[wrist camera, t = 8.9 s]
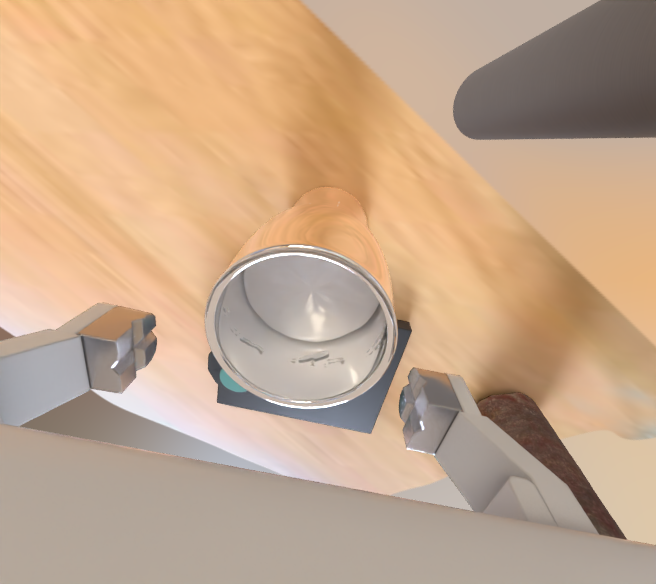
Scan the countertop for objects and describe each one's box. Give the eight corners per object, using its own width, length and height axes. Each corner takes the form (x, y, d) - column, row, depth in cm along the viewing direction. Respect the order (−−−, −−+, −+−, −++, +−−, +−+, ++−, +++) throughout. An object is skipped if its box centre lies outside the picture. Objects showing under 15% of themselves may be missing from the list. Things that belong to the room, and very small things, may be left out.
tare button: (261, 357, 26) (256, 369, 25) (257, 382, 28) (252, 395, 26) (227, 349, 26) (220, 361, 25) (224, 376, 28) (218, 388, 26)
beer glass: (386, 249, 24) (431, 383, 11) (307, 281, 26) (262, 431, 12) (351, 162, 22) (355, 197, 8) (266, 204, 23) (154, 289, 10)
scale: (409, 322, 27) (416, 341, 24) (370, 423, 33) (371, 448, 30) (224, 282, 26) (210, 297, 24) (217, 392, 32) (205, 414, 30)
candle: (511, 447, 33) (702, 810, 15) (446, 433, 33) (564, 786, 15) (551, 397, 30) (857, 786, 12) (479, 380, 29) (684, 754, 11)
